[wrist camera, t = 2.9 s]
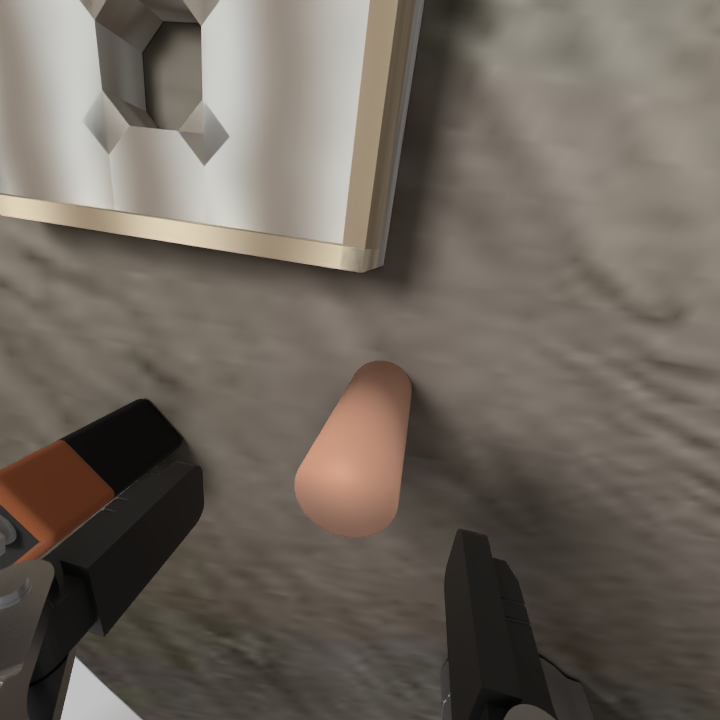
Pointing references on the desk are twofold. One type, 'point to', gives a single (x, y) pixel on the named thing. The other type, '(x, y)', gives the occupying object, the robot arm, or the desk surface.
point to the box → (212, 124)
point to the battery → (77, 478)
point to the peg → (359, 455)
